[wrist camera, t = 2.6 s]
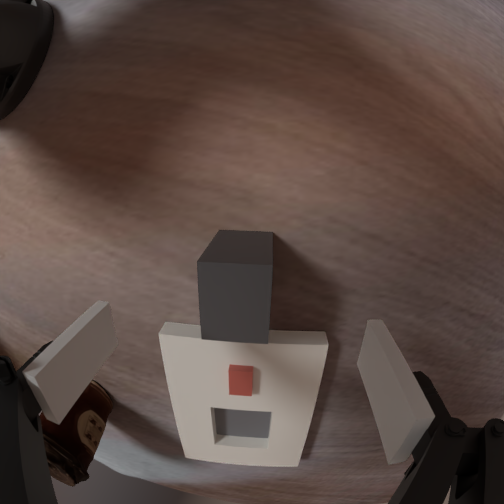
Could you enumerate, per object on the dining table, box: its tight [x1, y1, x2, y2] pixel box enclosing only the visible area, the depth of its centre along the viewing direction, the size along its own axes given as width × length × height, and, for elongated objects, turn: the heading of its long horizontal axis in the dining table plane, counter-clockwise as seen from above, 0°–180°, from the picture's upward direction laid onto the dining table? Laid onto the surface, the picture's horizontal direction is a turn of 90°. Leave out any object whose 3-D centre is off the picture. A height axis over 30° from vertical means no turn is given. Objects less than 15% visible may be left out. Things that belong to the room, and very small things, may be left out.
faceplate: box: [159, 322, 329, 467], centre depth 26 cm, size 20×14×3 cm
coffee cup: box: [39, 380, 113, 486], centre depth 24 cm, size 9×8×13 cm
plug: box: [197, 230, 273, 344], centre depth 20 cm, size 5×4×7 cm
